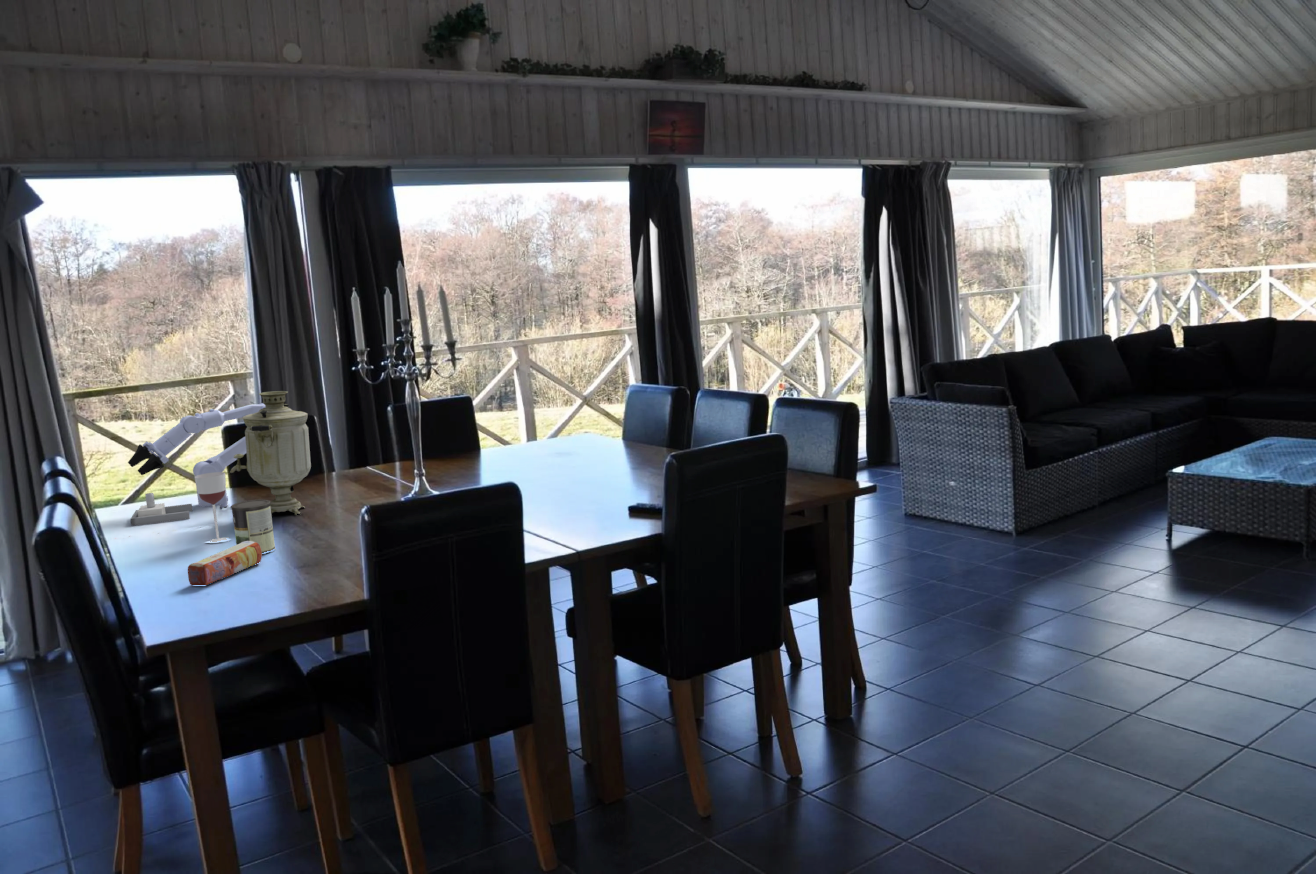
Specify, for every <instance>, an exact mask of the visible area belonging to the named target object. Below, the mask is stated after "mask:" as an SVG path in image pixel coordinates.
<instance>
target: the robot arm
mask: <svg viewBox="0 0 1316 874" xmlns="http://www.w3.org/2000/svg"><path fill="white" fill-rule="evenodd" d="M265 407H266V406H265V404H263V402H262V403H259V404H258V403H253V404H248V405H247V404H246V405H245V406H240V407H237V408H233V409H230V410H229V409H228V410H226V411H223V412H222V411H220V410H219V409H214V408H211V409H209V411H206V412H201V413H199V412H196V413H194V415H186V416H183V417H182V418H181V419H180V420H179V423H177V424H176V425H175V426H173V427H171V428H170V429H169V430H168V431H167V432H165V433H164V434H163V435H161V437H159V438H158V439H157V440H156V441H153V442H151V441H149V442H148V441H145V442H144V443H143V444H140V443H139V444H138V446H137V448H136V451H135V452H134V454H133V455H132V456H131V457H130V459H129V460H128V461H127V464H129V466H131V467H132V468H133V467H135V466H137V465H139V464H140V463H142V462H144V461H145V462H144V464H142V465H141V466H140V467H139V468H138V469H137V472H138V473H139V474H140V475H141V476H143V475H146V474H148V473H150V472H152V471H155V470H159V469H163V468H165V466H164V465H165V464H166V463H168V462H169V461H170V459H169V458H168V457H167V455H169V454H170V453H171V452H172V451H173V450H175V449H176V448H177V447H179V446H180V445H182V443H184V442H185V441H186V440H187V439H188V438H189V437H191V436H192V435H193V434H199V433H200V432H201V431H205V430H210V429H213V428H217V427H218V428H219V427H222V426H223V425H224V423H225V422H227V421H231V420H232V421H233V420H237V419H238V420H239V419H243V417H244V416H246V415H249V414H254V413H257V412H258V411H259V410H261V409H262V408H265ZM236 454H243V455H244V456H245V455H247V452H246V439H245V436H243V437H242V438H240V439H239V440H238V441H236V442H235V443H233V444H232V445H230V446H229V447H227V448H225V449H224V450H222V451H221V452H218V454H217V455H213V456H212V457H209V458H207V459H206V460H203V461H198V462H197V463H196V464H195V465H194V466H193V469H192V473H193V476H194V477H195V476H197V475H201V474H206V473H214V472H224V471H225V469H226V468H227V467H228V466H229V465H231V464H232V463H234V462H235V461H237V458H234V455H236ZM146 460H147V461H146ZM195 487H196V486H195ZM227 494H228V493H227V489H226V490H225V495H224V497H223V498H222V499H221V500H219V501H218V502H217V503H216V504H215V506H217V505H219V509H221V508H227V507H228V503H229V496H228V495H227ZM196 495H197V504H198V506H199V507H213V506H212V504H210V503H207V502H205V501H203V500H202V499H201V498H200V496H199V494H198V491H197V487H196Z"/></svg>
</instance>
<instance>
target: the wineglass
mask: <svg viewBox="0 0 1316 874" xmlns="http://www.w3.org/2000/svg"><path fill="white" fill-rule="evenodd" d="M226 479H227V478H226V472H224V471H223V472H214V473H206V474H201V475H197V476H195V475H194V480H195V481H194V483H195V487H197V489H196V492H197V491H198V494H199V496H200V498H201V499H202V500H203V501H205V502H207V503H210V504H212V506H211V507H212V511H213V512H212V513H213V521H214V529H215V534H216V535H215V538H212V540H211V539H210V540H211V541H212V542H217V541H221V540H227V539H226V538H227V537H220V532H219V527H218V526H219V525H218V524H219V523H218V517H217V509H216V505H215V504H216V503H217V502H218V501H219V500H221V499H222V498H223V497H224V495H225V490H226V491H227V487H226V485H227V483H226ZM216 538H217V539H216ZM211 541H210V542H211Z"/></svg>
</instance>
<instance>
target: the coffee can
mask: <svg viewBox="0 0 1316 874" xmlns="http://www.w3.org/2000/svg"><path fill="white" fill-rule="evenodd" d="M270 503H271V500H268V499H252V500H250V499H249V500H244V501H240V502H236V503H234V504H231V506H230V508H231V512H232V513H231V514H232V520H233V529H234V535H235V536H234V537H235V545H237V544H240V543H242V542H244V541H253V542H256V543H258V544H259V545H260V547H261V552H262V553H264V552H267V551H271V550H273V549H275V550H276V544H275V536H274V527H273V518H272V514H271V508H270Z"/></svg>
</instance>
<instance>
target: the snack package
mask: <svg viewBox="0 0 1316 874" xmlns="http://www.w3.org/2000/svg"><path fill="white" fill-rule="evenodd" d="M262 558H263V555H262V552H261V547H260V545H259V544H258V543H256V542H253V541H244V542H242V543H240V544H237V545H236V544H235V545H233V546H231V547H227V548H226V549H224V550H222V551H219V552H217V553H215V554H213V555H210V556H207V557H205V558H203V559H201V560H199V561H195V562H192V563H191V564H189V565H188V566H187V576H188V582H189V584H190V586H192V585H208V584H210V583H212V584H214V583H216V582H218V581H217V580H219V581H221V580H223V579H222V578H224V577H226V578H228V577H230V575H231V576H233V575H235V574H234V573H236V574H237V572H238V573H240V572H242V571H244V570H243V569H245V570H247V569H249V568H248V567H250V566H252V567H254V566H253V565H255V564H257V563H259V562H260V563H261V562H262ZM260 563H259V564H260ZM257 565H258V564H257ZM255 566H256V565H255ZM246 568H247V569H246ZM250 568H251V567H250ZM241 570H242V571H241ZM239 571H240V572H239ZM232 574H233V575H232ZM227 576H228V577H227ZM220 579H221V580H220ZM224 579H225V578H224ZM215 581H216V582H215ZM213 582H214V583H213ZM210 585H211V584H210ZM208 586H209V585H208Z"/></svg>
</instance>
